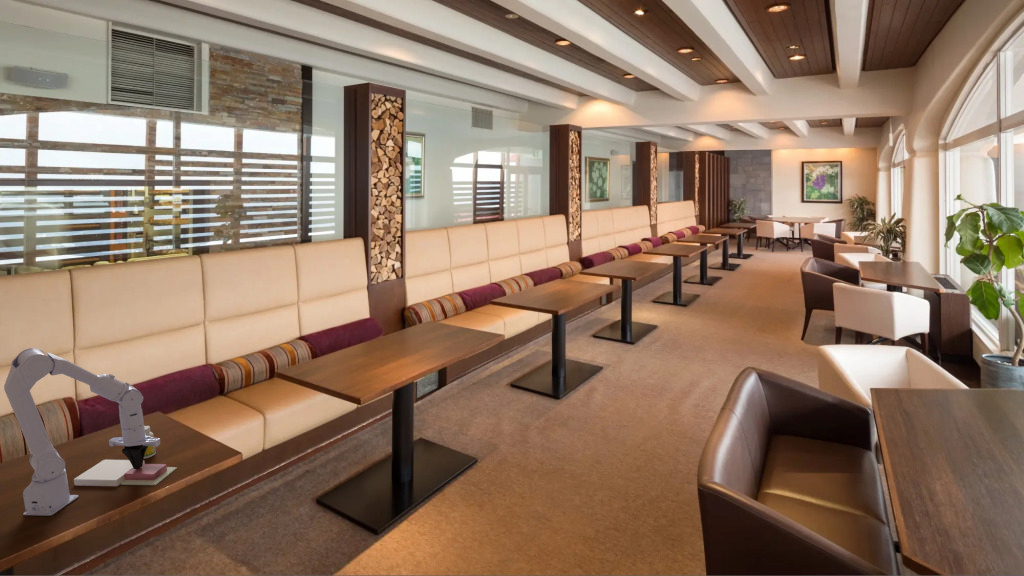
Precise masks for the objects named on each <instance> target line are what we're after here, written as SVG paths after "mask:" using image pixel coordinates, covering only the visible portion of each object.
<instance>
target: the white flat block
mask: <svg viewBox="0 0 1024 576" xmlns="http://www.w3.org/2000/svg"><path fill="white" fill-rule="evenodd" d="M143 464H146V462H145V460H144V459H143ZM131 468H133V466H132V464H131V462H130V460H129V459H103V460H101V461H100V462H98V463H97V464H95V465H94V466H92V467H90V468H89V469H87V470H86V471H84V472H83V473H81V474H80V475H78V476H76V477H74V478H73V485H74V486H80V487H81V486H82V487H83V486H85V487H89V486H90V487H118V486H121V484H120V483H122V482H123V481H124V480H125V476H124V473H126V472H127V471H129V470H130V469H131Z"/></svg>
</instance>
